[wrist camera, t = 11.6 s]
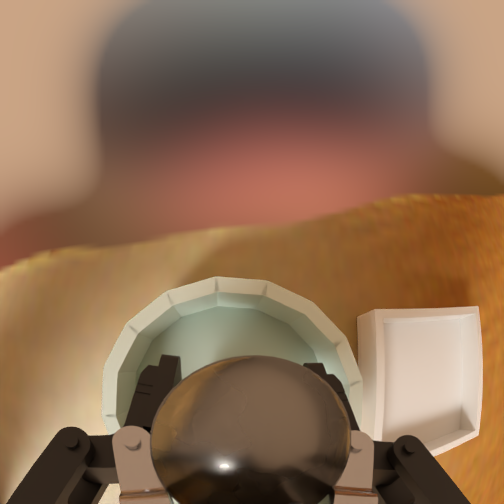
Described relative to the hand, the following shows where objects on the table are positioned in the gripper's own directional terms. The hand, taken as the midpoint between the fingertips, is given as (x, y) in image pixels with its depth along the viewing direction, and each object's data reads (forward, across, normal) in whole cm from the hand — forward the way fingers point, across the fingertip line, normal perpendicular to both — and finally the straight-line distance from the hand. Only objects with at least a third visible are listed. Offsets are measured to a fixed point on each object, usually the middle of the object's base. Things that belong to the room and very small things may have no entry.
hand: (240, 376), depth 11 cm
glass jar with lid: (+1, 0, +4) cm, 4 cm away
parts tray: (+3, -14, +5) cm, 15 cm away
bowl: (+3, 0, +5) cm, 6 cm away
